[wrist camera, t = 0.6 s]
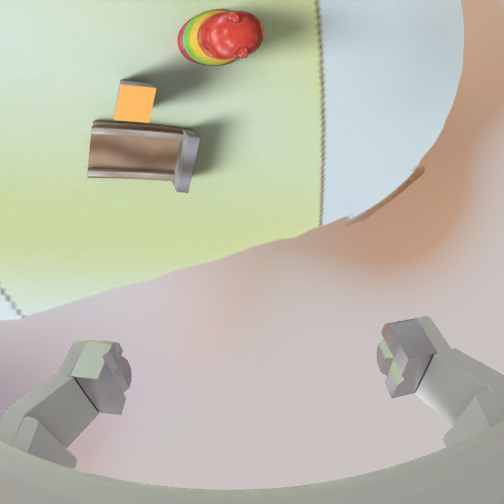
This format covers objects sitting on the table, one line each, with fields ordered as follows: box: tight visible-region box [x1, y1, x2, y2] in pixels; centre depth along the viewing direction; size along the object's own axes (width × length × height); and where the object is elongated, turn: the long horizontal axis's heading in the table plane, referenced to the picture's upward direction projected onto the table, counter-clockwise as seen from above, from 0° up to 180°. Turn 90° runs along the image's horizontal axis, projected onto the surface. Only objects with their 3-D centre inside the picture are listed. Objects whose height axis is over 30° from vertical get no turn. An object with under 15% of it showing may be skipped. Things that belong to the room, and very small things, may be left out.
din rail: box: [87, 121, 200, 193], centre depth 47 cm, size 10×18×6 cm, turn 74°
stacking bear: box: [178, 9, 264, 66], centre depth 35 cm, size 11×10×18 cm
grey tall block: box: [114, 80, 157, 123], centre depth 38 cm, size 5×5×11 cm
